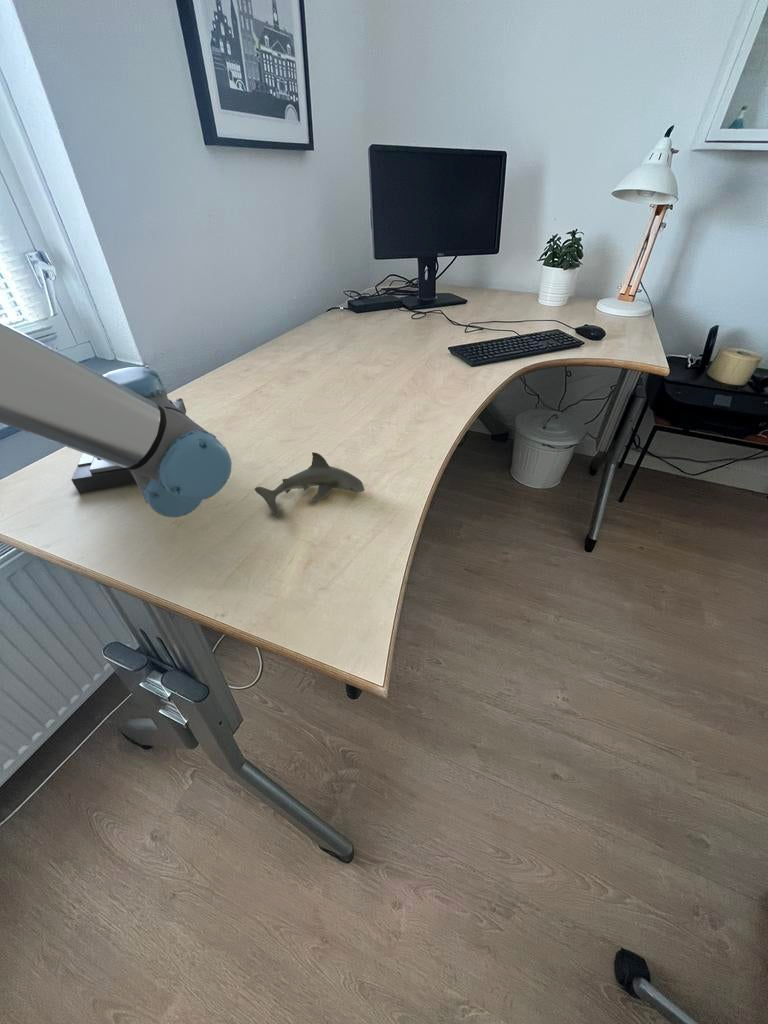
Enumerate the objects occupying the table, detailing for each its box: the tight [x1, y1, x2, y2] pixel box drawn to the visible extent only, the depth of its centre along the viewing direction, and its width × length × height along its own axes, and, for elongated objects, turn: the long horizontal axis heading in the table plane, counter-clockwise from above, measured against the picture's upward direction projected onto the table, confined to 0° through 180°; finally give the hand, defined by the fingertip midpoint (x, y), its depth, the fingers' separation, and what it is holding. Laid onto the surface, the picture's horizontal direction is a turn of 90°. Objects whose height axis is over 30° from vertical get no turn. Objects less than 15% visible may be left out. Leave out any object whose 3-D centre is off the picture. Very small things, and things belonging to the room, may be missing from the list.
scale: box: [70, 453, 137, 494], centre depth 86 cm, size 20×16×4 cm
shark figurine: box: [254, 451, 365, 517], centre depth 75 cm, size 14×17×8 cm
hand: (116, 406), depth 82 cm, fingers open, 13 cm apart
